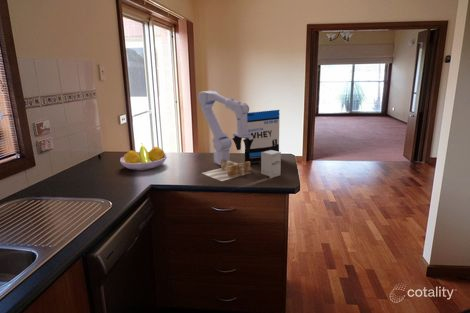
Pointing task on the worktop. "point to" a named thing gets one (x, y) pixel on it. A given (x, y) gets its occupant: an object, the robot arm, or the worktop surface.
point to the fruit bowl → (144, 158)
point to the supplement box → (271, 163)
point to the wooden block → (234, 168)
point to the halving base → (225, 171)
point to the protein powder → (262, 134)
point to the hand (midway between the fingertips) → (243, 150)
